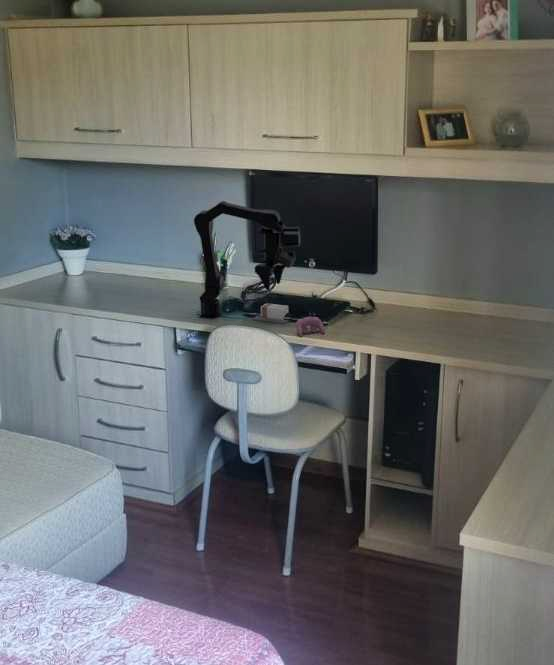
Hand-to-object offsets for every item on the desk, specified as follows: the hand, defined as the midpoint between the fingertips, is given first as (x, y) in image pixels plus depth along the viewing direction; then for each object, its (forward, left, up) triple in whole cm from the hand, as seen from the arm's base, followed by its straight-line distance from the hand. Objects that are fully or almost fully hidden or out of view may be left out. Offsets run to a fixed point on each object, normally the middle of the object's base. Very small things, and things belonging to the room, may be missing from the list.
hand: (273, 286), depth 326 cm
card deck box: (+1, 0, -12) cm, 12 cm away
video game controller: (+20, -13, -12) cm, 26 cm away
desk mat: (0, 0, -12) cm, 12 cm away
